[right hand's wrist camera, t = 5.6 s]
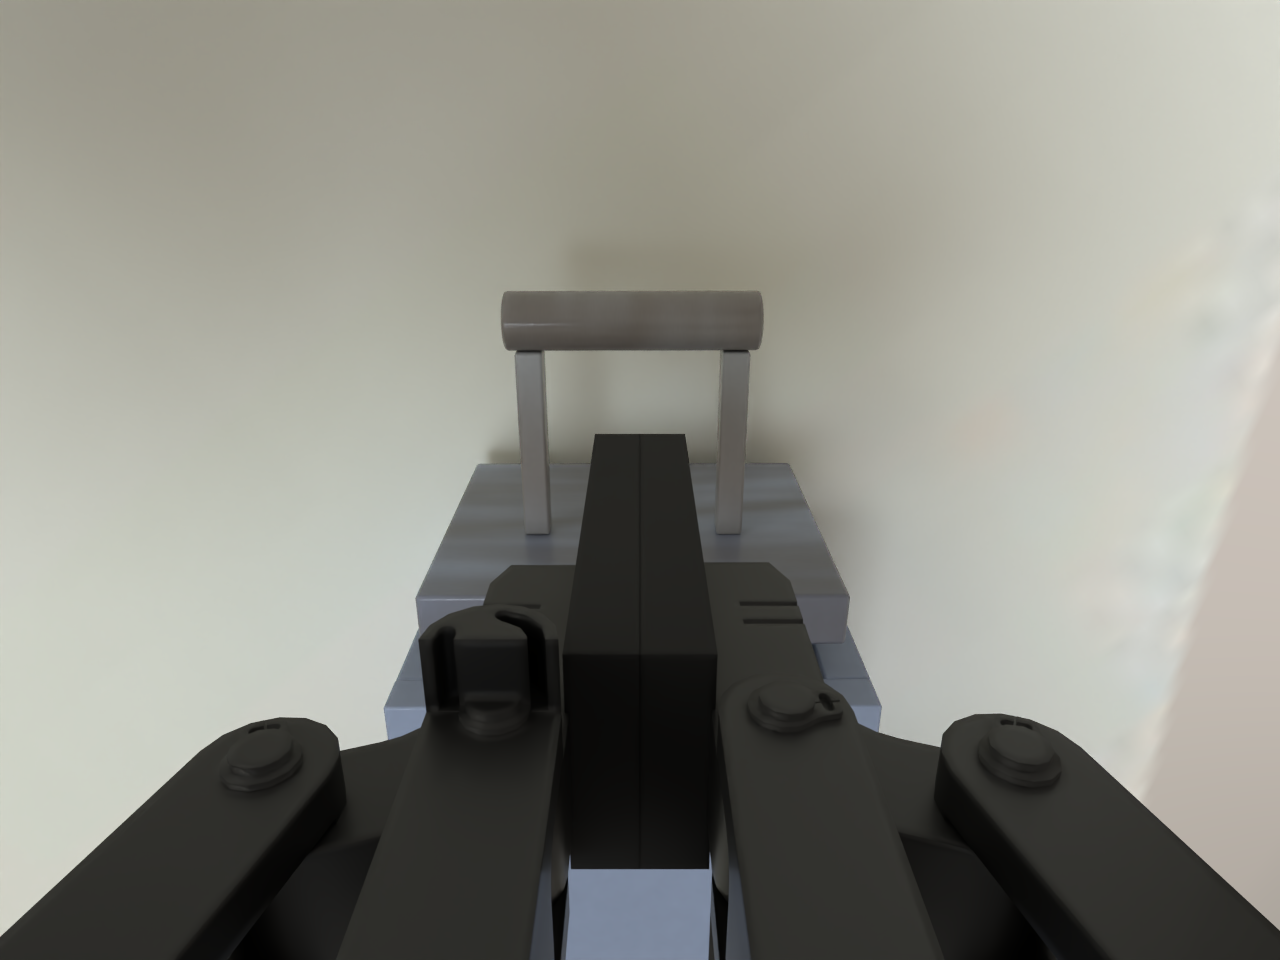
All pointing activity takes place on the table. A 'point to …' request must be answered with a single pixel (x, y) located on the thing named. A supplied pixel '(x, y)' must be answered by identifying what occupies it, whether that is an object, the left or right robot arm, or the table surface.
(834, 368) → the table surface
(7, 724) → the table surface
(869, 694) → the cabinet
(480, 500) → the drawer
